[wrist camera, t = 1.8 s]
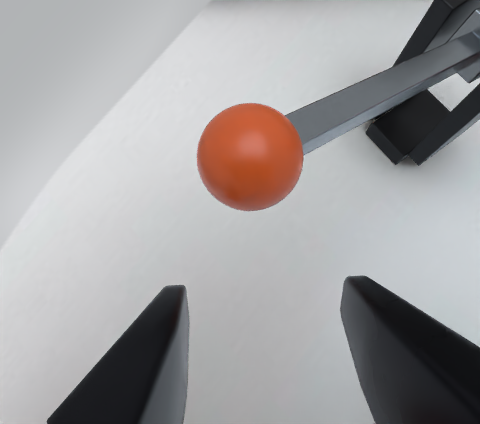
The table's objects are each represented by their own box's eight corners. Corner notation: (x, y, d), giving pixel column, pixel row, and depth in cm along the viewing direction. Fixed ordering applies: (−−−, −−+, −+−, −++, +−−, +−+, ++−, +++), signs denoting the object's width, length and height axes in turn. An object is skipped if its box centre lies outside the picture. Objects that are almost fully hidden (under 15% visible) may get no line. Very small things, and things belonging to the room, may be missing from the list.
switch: (227, 245, 10) (258, 194, 8) (170, 168, 11) (183, 99, 9) (494, 79, 19) (551, 28, 16) (452, 41, 20) (500, -14, 17)
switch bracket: (411, 182, 24) (531, 85, 14) (350, 117, 25) (423, -10, 16) (462, 143, 25) (604, 29, 15) (401, 83, 26) (498, -55, 17)
